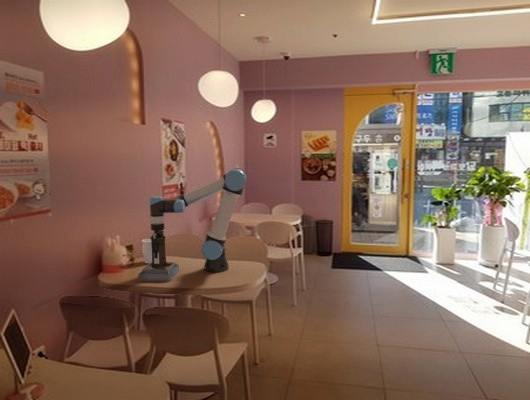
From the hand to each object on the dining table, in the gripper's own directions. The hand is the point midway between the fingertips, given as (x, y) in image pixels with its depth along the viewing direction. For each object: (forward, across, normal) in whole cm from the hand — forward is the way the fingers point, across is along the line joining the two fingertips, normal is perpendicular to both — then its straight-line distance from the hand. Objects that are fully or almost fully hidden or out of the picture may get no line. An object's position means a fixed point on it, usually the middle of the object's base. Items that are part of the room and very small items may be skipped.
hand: (159, 261), depth 239 cm
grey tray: (+9, 0, 0) cm, 9 cm away
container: (+3, 0, 0) cm, 3 cm away
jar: (+9, -29, -15) cm, 34 cm away
